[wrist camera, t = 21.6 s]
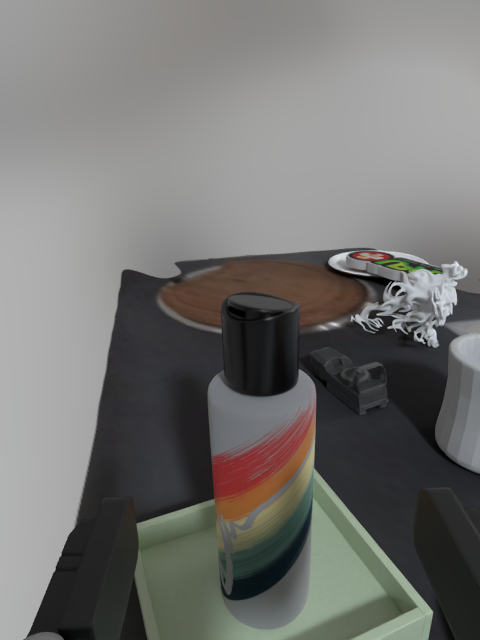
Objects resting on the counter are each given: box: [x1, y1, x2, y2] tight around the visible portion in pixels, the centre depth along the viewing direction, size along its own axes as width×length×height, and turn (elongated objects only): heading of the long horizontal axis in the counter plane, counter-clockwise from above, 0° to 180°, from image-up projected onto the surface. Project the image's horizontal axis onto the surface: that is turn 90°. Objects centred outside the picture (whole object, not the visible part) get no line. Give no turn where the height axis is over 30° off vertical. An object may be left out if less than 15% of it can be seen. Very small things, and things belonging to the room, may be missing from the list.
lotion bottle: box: [208, 292, 316, 630], centre depth 25 cm, size 6×6×20 cm
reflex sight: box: [310, 347, 389, 415], centre depth 52 cm, size 4×10×5 cm, turn 23°
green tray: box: [134, 469, 433, 640], centre depth 29 cm, size 15×13×2 cm
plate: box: [328, 250, 428, 278], centre depth 98 cm, size 21×21×1 cm
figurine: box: [351, 261, 467, 347], centre depth 63 cm, size 13×15×12 cm
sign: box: [346, 251, 443, 283], centre depth 89 cm, size 22×2×10 cm
